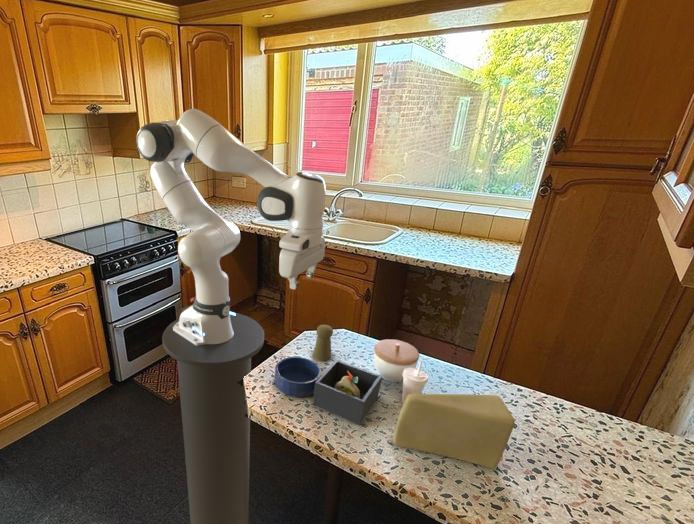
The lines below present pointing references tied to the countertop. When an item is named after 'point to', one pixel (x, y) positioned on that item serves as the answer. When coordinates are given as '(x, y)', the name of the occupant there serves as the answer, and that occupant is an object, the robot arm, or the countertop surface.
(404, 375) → the smoothie
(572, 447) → the countertop surface
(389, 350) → the lidded bowl
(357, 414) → the bin
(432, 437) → the cheese
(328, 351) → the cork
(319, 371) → the toy bowl
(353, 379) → the rattle
